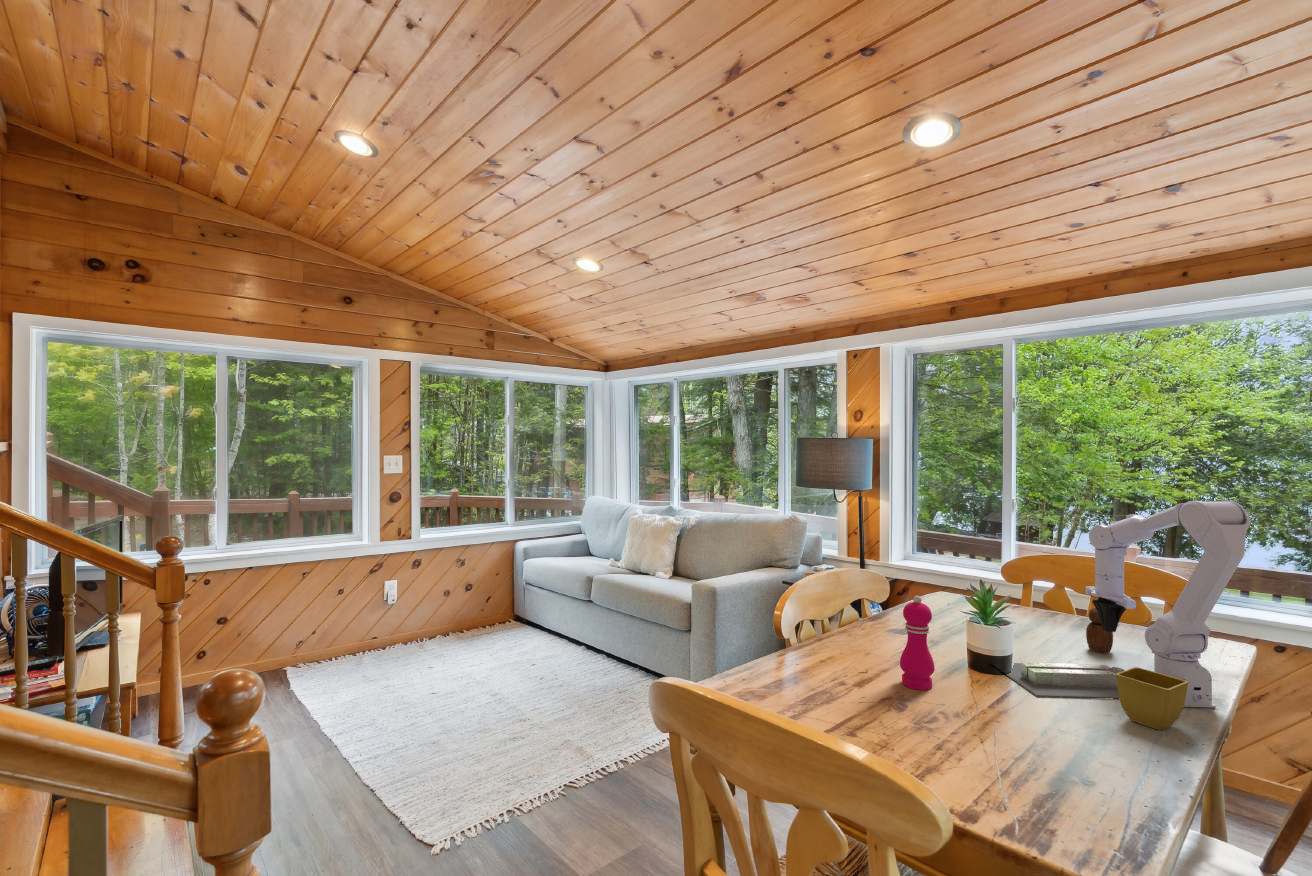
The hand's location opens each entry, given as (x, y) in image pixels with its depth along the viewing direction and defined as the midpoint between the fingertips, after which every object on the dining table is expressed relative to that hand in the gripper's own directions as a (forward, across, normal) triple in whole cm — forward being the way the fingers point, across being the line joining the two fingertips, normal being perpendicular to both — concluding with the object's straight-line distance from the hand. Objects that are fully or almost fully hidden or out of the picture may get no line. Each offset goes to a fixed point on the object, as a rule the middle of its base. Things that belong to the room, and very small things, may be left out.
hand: (1109, 631), depth 148 cm
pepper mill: (+10, +13, -51) cm, 53 cm away
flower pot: (+10, +30, -12) cm, 33 cm away
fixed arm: (+9, +11, -16) cm, 22 cm away
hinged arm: (+9, +9, -14) cm, 19 cm away
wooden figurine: (+10, -14, +7) cm, 18 cm away
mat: (+9, +8, -14) cm, 19 cm away
